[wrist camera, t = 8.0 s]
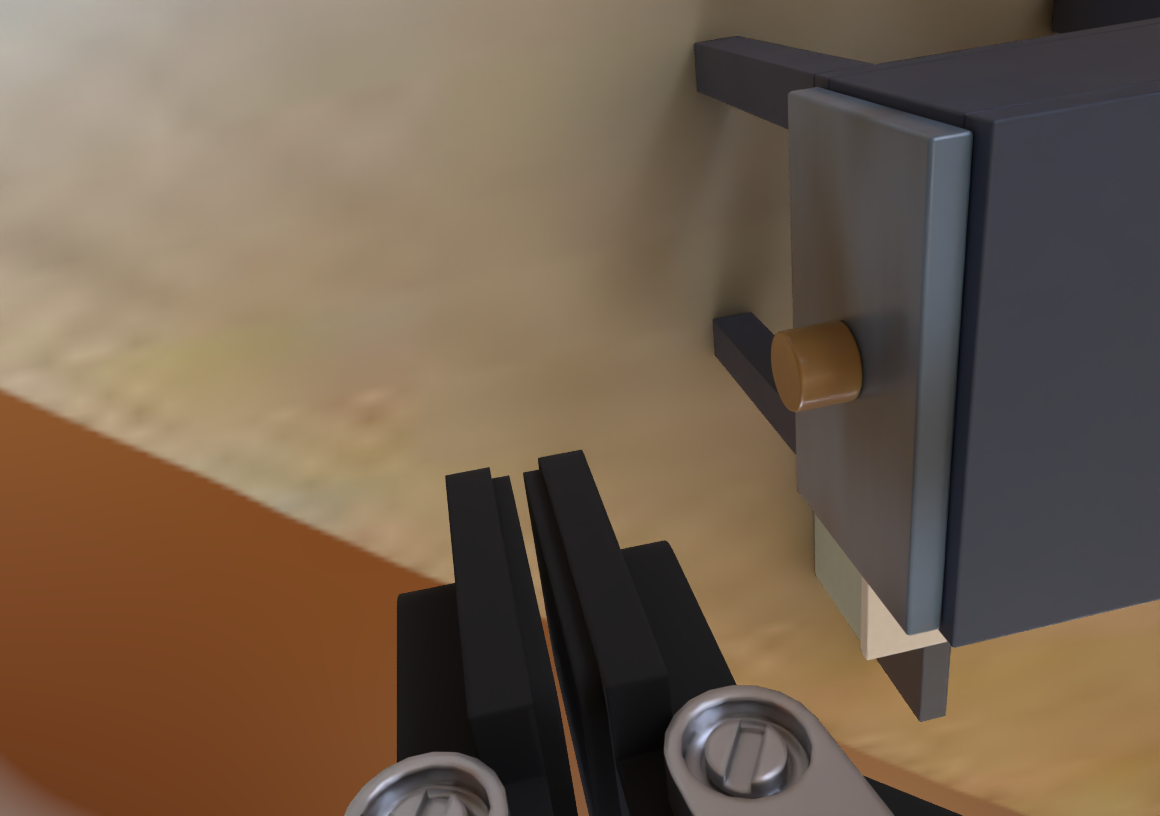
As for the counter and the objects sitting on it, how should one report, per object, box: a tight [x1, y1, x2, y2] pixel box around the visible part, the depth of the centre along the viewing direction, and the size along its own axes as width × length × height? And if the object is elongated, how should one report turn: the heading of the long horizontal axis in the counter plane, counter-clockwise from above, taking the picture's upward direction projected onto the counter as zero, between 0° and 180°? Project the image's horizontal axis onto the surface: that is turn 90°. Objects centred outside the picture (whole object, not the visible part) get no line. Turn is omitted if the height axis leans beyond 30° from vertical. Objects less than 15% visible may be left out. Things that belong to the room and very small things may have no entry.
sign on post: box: [814, 513, 951, 722], centre depth 37 cm, size 13×7×5 cm, turn 7°
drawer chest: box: [694, 0, 1160, 648], centre depth 25 cm, size 11×14×16 cm
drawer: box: [771, 87, 973, 636], centre depth 20 cm, size 11×15×6 cm
